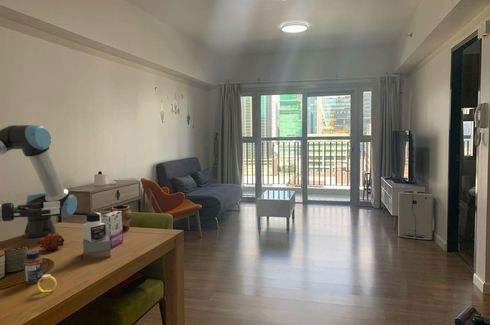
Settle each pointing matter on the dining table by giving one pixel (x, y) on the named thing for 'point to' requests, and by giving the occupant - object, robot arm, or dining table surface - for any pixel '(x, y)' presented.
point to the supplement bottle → (33, 267)
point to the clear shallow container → (96, 255)
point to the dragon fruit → (51, 241)
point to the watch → (46, 278)
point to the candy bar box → (113, 227)
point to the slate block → (96, 245)
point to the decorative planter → (124, 215)
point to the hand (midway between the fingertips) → (59, 207)
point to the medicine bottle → (94, 228)
